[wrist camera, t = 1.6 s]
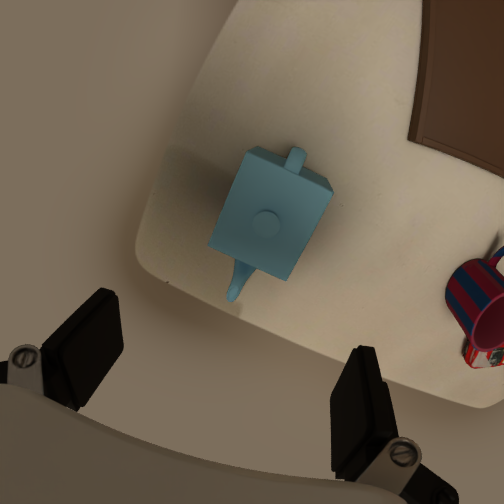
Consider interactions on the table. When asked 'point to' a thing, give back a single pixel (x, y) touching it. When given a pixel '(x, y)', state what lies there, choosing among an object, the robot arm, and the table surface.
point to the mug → (479, 302)
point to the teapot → (269, 215)
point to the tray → (462, 82)
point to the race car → (483, 357)
